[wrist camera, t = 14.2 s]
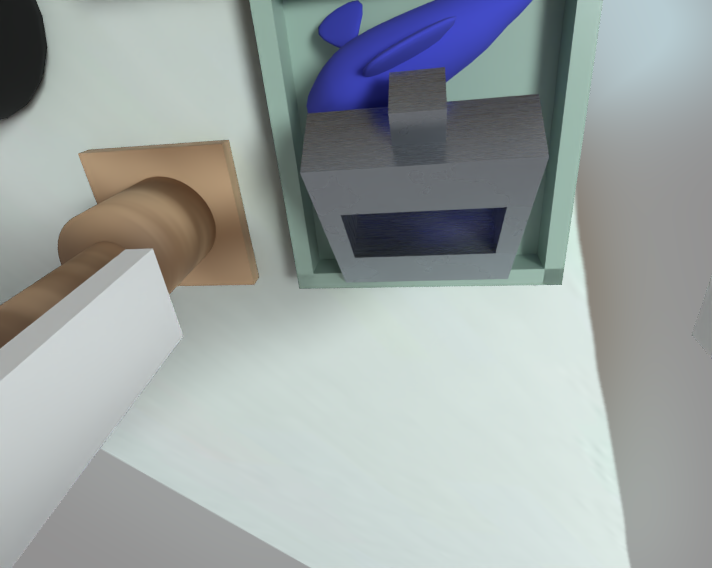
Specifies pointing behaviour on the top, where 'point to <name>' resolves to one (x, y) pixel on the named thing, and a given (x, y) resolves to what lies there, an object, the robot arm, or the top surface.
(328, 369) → the top surface
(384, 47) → the fish toy
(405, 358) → the top surface
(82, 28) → the top surface
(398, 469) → the top surface
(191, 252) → the handle
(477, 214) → the gray rectangular frame
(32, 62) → the coffee jar
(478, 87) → the tray
